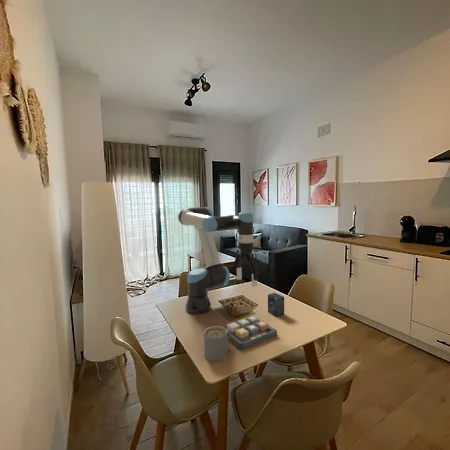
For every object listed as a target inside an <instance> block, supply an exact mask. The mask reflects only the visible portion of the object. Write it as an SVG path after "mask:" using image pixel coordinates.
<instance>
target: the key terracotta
mask: <svg viewBox="0 0 450 450" xmlns="http://www.w3.org/2000/svg"><path fill="white" fill-rule="evenodd" d="M256 326H257V327H258V328H259V330H261V331H263V330H265V329H268V328H269V326H270V325H269V323H268V322H265V321H264V320H260V322H258V323H256Z"/></svg>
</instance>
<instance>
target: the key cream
mask: <svg viewBox="0 0 450 450" xmlns="http://www.w3.org/2000/svg"><path fill="white" fill-rule="evenodd" d="M235 322H236V321H234V322H230V323H228V324H226V325H227V329H228V330H230V331H231V332H234V331H235V330H238V329H240V325H238V324H237V323H235Z"/></svg>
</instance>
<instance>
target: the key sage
mask: <svg viewBox="0 0 450 450" xmlns="http://www.w3.org/2000/svg"><path fill="white" fill-rule="evenodd" d="M246 319H247V318H242V319H239V320H237V321H236V322H237V324H238V325H240V327H241V328H245V327H246V326H249V325H250V322H249V321H247V320H246Z"/></svg>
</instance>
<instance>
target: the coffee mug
mask: <svg viewBox="0 0 450 450" xmlns="http://www.w3.org/2000/svg"><path fill="white" fill-rule="evenodd" d="M229 339H230V331H229V330H228V329H226V328H224V326H222V325H211V326H209V327H207V328H205V329H204V331H203V348H204V351H203V352H204V358H205V359H206V360H208V361H210V362H220V361H223V360H225V359H226V358H228V355H229V345H228V344H229V343H228V342H230V341H229Z"/></svg>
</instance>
